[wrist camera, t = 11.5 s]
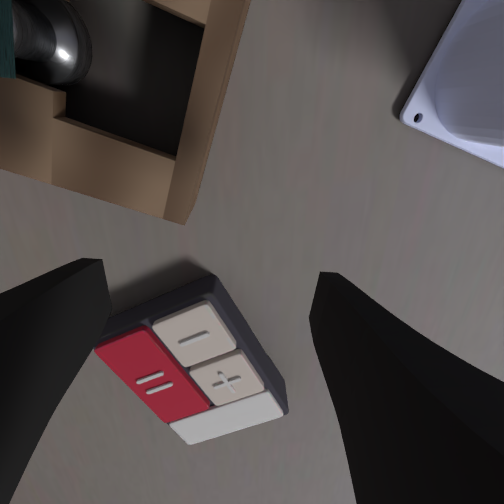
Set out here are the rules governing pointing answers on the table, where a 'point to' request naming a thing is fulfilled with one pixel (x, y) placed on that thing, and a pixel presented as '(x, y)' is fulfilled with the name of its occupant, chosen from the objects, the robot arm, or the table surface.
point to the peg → (43, 41)
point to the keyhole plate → (118, 148)
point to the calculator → (194, 362)
